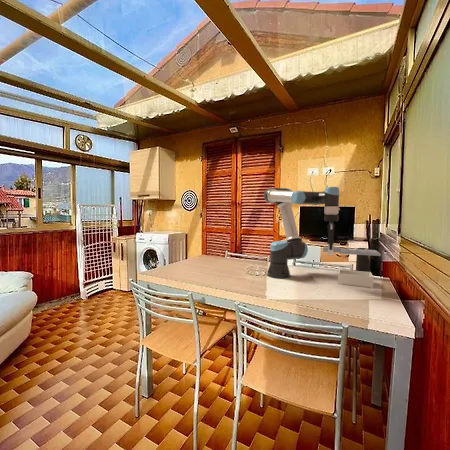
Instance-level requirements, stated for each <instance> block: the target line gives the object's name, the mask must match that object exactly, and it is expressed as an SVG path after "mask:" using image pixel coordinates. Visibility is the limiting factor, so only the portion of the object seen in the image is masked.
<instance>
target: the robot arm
mask: <svg viewBox="0 0 450 450" xmlns="http://www.w3.org/2000/svg"><path fill="white" fill-rule="evenodd" d="M263 199H264V201H265V202H267V203H269V204H273V205H274V204H276V207H277V209H279V210H280V211H279V212H280V217H281V221H282V225H283V229H284V234H285V238H286V240H277V241H273V242H271V243H270V247H269V251H270V253H269V259H270V260H269V266H268V268H267V271H266V272H267V273H266V276H267V277H269V278H274V279H287V278H290V277H291V272H290V268H289V266H288V261H289V260H300V259H304V258H305V257H306V256H307V254H308V251H309V249H308V248H309V247H308V245H307V242H305V241H303V240H302V237H300V235H299V232H298V229H297V228H298V227H297V224H296V220H295V216H294V212H293V208H292V206H293V205H294V204H295V205H315V206H316V205H318V206H319V205H324V207H323V208H324V211H323V212H324V213H323V214H324V216H323V217H324V218H323V220H324V221H325V222H328V224H327V233H328V238H327V239H328V240H327V243H326V244H327V247H328V252H327V256H334V252H333V247H334V244H335V241H334V238H335V236H334V235H335V229H336V224H334V223H335V222H338V221H339V219H340V217H339V216H340V215H339V213H340V212H339V211H340V210H341V208H340V207H339V206H340V205H339V204H340V188H339V187H338V186H327V187H325V188H324V191H304V190H292V189H291V188H286V187H284V188H283V187H270V188H268V189H266V190H265V191H264V193H263Z"/></svg>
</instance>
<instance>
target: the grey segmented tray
mask: <svg viewBox="0 0 450 450" xmlns="http://www.w3.org/2000/svg"><path fill="white" fill-rule="evenodd" d="M358 248H359V247H357V248H350V247H347V248H341V247H339V246H333V253H339V254H341V255H356V256H357V255H370V256H373V257H374V256H375V257H377V256H378V257H381V256H382V253H380V252H379V251H377V250H376V249H371V250H367V249H365V250H361V249H358ZM322 251H323V252H324V253H328V246H323V249H322Z"/></svg>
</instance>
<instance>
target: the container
mask: <svg viewBox="0 0 450 450" xmlns="http://www.w3.org/2000/svg"><path fill="white" fill-rule="evenodd" d="M357 248H358V249H361V250H365V249H367V250H372V249H371V248H367V247H357ZM355 271H363V272H371V255H356V261H355Z"/></svg>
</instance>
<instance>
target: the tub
mask: <svg viewBox="0 0 450 450" xmlns="http://www.w3.org/2000/svg"><path fill="white" fill-rule="evenodd" d="M337 272H338V273H337V282H338V283H337V284H339V285H346V286H355V287H363V288H372V289H373V288H374V279H375V278H374V275H373V273H372V272H371V271H370V272H363V271H356V270H351V269H350V270H349V269H341V268H340V269H338V271H337Z"/></svg>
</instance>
